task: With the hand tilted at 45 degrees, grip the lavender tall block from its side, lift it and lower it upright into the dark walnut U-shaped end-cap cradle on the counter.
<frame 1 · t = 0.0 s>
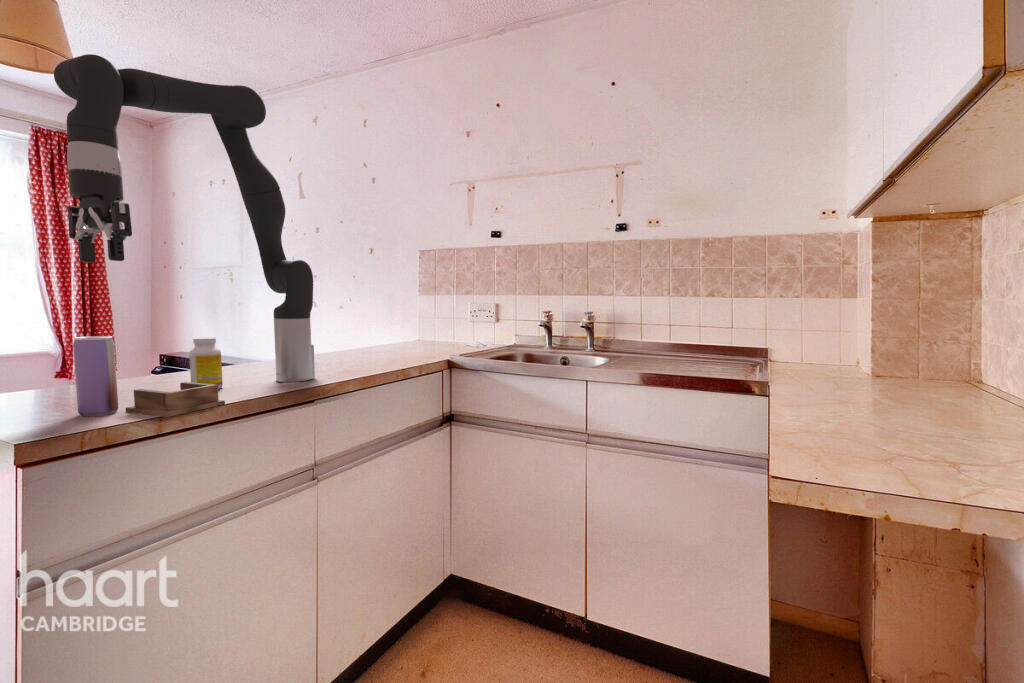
hand: (101, 261, 89), 29 cm above the countertop, tool pointing down, fingers open, 8 cm apart
lavender tall block: (99, 414, 93), on the countertop
cradle: (177, 407, 98), on the countertop
supplement bottle: (207, 390, 119), on the countertop
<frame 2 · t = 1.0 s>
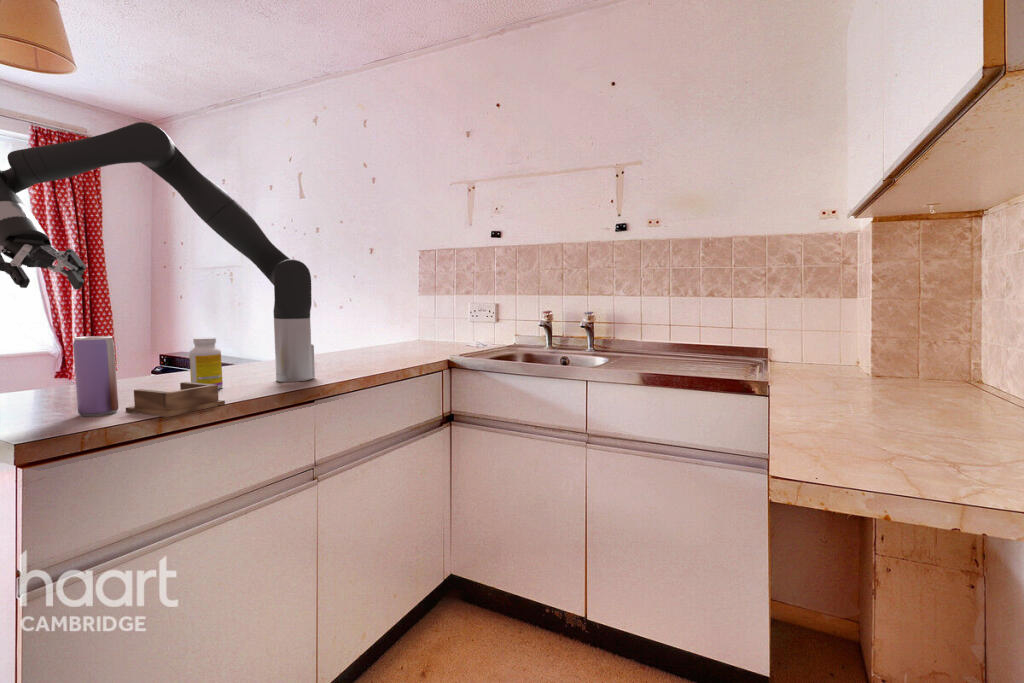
hand: (54, 285, 95), 25 cm above the countertop, tool tilted 45°, fingers open, 8 cm apart
nothing on the countertop moved.
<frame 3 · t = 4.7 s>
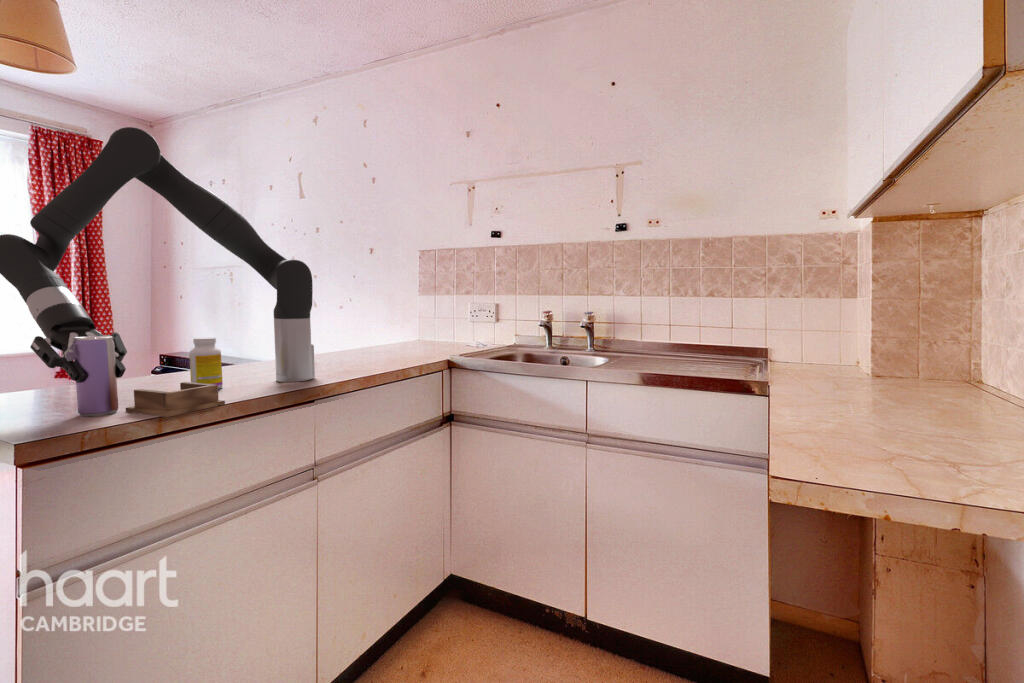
hand: (102, 377, 92), 7 cm above the countertop, tool tilted 45°, fingers closed on lavender tall block, 6 cm apart
lavender tall block: (99, 414, 93), on the countertop, touching gripper
everything else where it was.
when the fingers open (9 cm above the countertop, at t = 9.7 s): lavender tall block stays where it is, resting on cradle.
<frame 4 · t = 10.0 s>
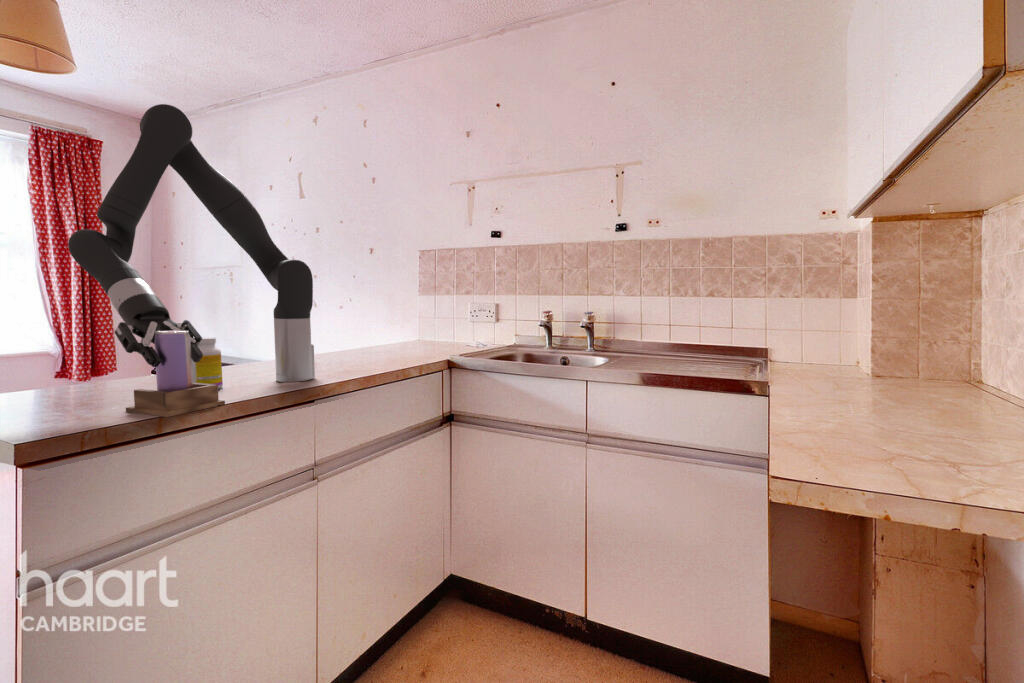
hand: (179, 361, 97), 10 cm above the countertop, tool tilted 45°, fingers open, 8 cm apart
lavender tall block: (176, 404, 98), point 1 cm above the countertop, touching cradle
everything else where it was.
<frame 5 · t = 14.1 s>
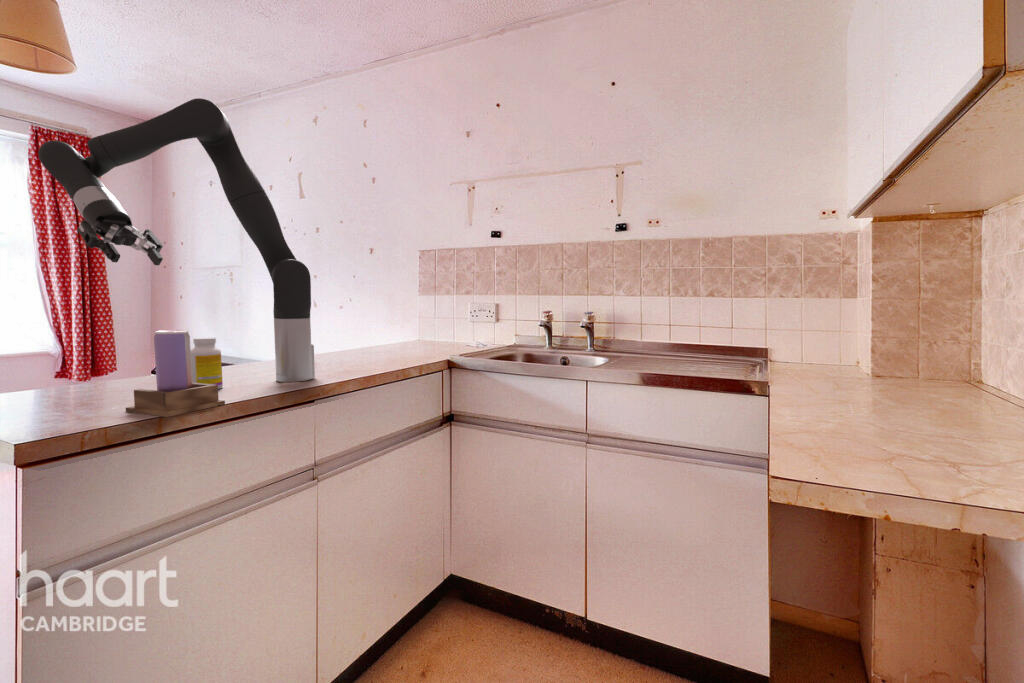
hand: (138, 261, 105), 31 cm above the countertop, tool tilted 45°, fingers open, 8 cm apart
nothing on the countertop moved.
at the end: lavender tall block 0.2 cm off-centre on the cradle, point 0.6 cm above the cradle's base; lavender tall block tilted 0°; the gripper is holding nothing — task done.
